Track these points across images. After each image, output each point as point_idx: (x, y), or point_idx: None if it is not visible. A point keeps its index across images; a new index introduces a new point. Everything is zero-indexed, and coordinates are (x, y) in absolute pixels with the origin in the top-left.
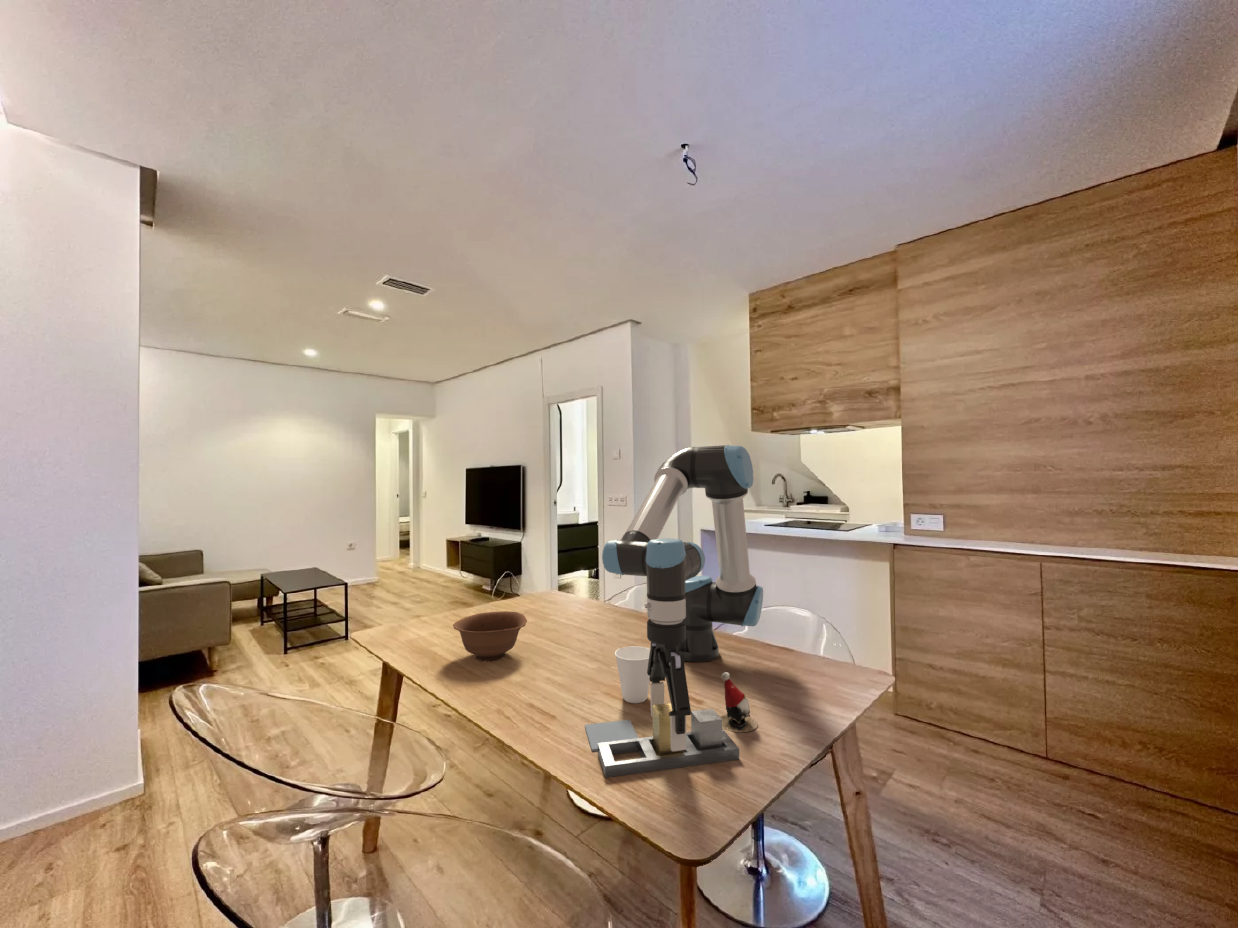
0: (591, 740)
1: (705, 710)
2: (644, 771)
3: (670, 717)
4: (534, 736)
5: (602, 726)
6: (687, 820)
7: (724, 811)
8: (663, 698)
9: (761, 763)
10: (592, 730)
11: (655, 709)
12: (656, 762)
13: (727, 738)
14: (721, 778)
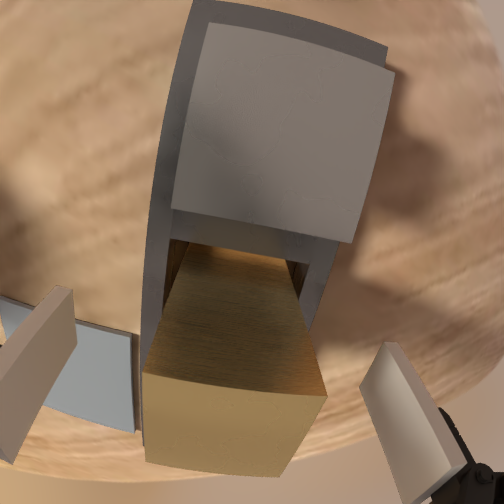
0: (95, 420)
1: (207, 88)
2: None
3: (397, 488)
4: (68, 461)
5: None
6: (461, 350)
7: (494, 271)
8: (29, 347)
9: (416, 17)
10: (50, 399)
11: (202, 470)
12: None
13: (293, 28)
14: (424, 194)
